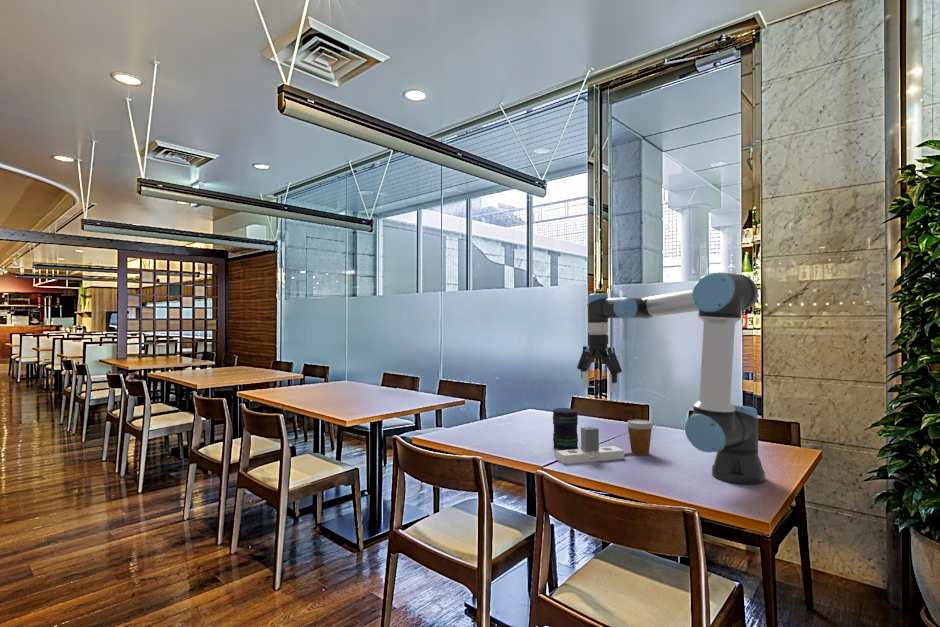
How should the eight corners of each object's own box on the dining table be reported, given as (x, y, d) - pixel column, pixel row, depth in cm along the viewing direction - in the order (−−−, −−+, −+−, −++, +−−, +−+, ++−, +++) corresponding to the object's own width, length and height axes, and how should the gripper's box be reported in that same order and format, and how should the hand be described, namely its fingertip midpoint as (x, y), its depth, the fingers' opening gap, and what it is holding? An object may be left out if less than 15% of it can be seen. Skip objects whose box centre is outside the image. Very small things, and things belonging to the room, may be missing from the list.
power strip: (638, 457, 190) (638, 448, 190) (564, 464, 182) (564, 455, 182) (627, 452, 197) (627, 444, 197) (555, 459, 189) (555, 450, 189)
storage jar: (559, 443, 212) (559, 407, 213) (582, 446, 207) (581, 409, 207) (548, 448, 204) (548, 410, 205) (571, 452, 199) (571, 413, 199)
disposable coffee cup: (650, 450, 200) (649, 419, 200) (656, 456, 190) (655, 424, 191) (624, 450, 201) (624, 419, 201) (629, 456, 191) (629, 423, 192)
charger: (598, 455, 187) (598, 427, 187) (586, 456, 186) (586, 428, 186) (593, 453, 191) (593, 425, 191) (581, 454, 190) (580, 426, 190)
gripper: (631, 334, 188) (631, 392, 187) (581, 333, 209) (582, 385, 208) (617, 334, 184) (617, 394, 183) (567, 333, 205) (568, 387, 204)
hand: (598, 389), depth 196 cm, fingers open, 13 cm apart
